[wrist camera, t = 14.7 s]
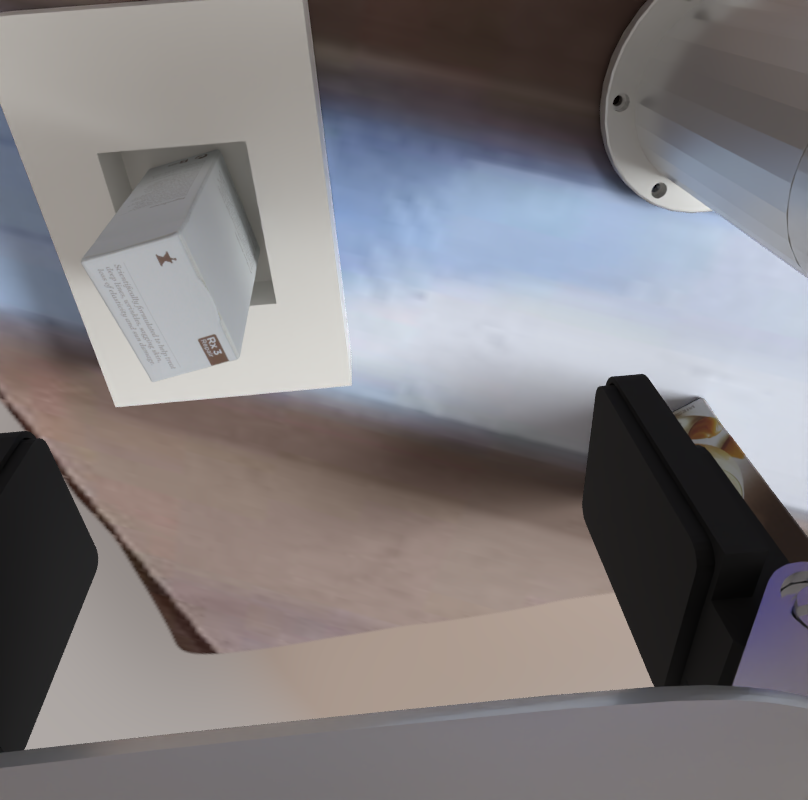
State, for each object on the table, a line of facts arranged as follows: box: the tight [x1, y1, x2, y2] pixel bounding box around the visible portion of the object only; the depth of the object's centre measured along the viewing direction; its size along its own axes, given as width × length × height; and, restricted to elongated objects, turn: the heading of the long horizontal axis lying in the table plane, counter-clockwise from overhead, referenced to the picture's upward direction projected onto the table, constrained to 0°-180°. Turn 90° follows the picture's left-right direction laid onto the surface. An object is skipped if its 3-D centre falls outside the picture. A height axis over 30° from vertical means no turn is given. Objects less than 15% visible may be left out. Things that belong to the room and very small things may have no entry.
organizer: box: [0, 0, 352, 407], centre depth 35 cm, size 14×20×4 cm
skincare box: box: [81, 150, 260, 382], centre depth 31 cm, size 6×4×12 cm
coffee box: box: [673, 398, 808, 564], centre depth 43 cm, size 9×6×16 cm
